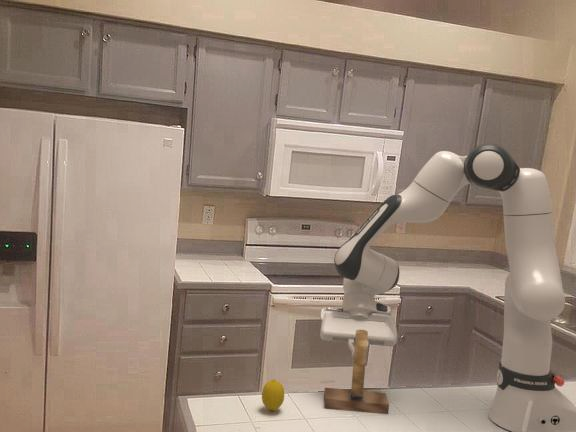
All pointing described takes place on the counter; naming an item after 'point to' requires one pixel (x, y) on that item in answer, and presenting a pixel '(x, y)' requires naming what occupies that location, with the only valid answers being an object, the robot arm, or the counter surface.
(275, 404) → the lemon
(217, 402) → the counter surface
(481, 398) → the counter surface
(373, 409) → the brown wooden block
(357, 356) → the tan wooden peg
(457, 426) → the counter surface
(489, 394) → the counter surface
